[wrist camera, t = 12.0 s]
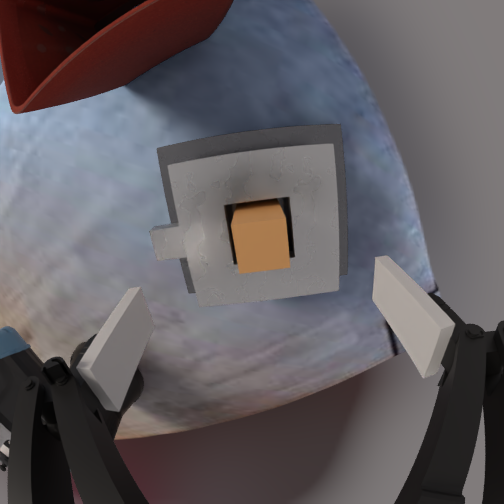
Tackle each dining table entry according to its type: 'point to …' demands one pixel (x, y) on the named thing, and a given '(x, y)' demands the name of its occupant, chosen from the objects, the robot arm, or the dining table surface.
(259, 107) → the dining table surface
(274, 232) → the orange rectangular block
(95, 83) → the plant pot
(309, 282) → the tabbed square frame
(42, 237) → the dining table surface
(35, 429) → the robot arm
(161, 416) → the dining table surface
